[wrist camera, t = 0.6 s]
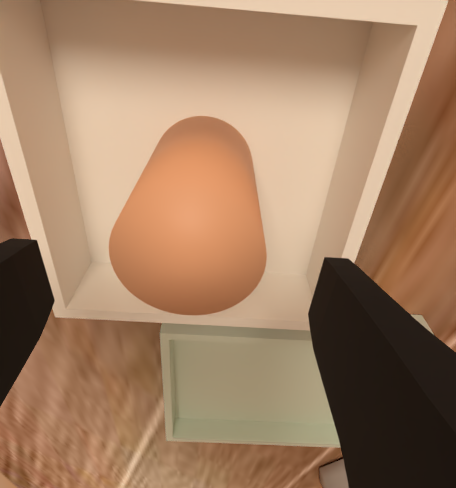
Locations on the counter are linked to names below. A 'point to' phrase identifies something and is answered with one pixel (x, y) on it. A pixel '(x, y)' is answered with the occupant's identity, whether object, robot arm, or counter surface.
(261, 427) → the tray
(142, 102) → the box
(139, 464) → the counter surface
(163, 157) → the peg
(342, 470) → the flask
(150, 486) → the counter surface
